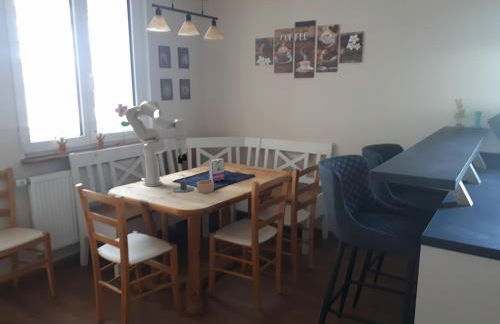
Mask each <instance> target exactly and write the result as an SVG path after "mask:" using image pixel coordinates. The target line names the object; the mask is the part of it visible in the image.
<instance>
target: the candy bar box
mask: <svg viewBox="0 0 500 324" xmlns="http://www.w3.org/2000/svg"><path fill="white" fill-rule="evenodd" d="M208 170H209V171H208V172H209V180H211V181H213V182H214V183H217V182H216V181H218V182H222V181H221V180H223V181H226V174H225V173H226V172H225V159H224V158H216V159H215V158H214V159H209V160H208Z"/></svg>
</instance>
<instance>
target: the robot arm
mask: <svg viewBox="0 0 500 324" xmlns="http://www.w3.org/2000/svg"><path fill="white" fill-rule="evenodd" d="M162 116H163V110H162V109H161V106H160V103H159V102H158V101H157V100H146V101H143V102H141V104H140V105H132V106H129V107H128V108H126V111H125V118H126V120H127V122H128V124H129V126H131V128H132V130H133V131H134V133H135V135H136V136H137V138H138V140H139V141H140V142H141V143H144V144H143V145H142V152H143V156H144V164H145V166H144V167H145V178H141V182H144V186H146V187H157V186H161V185H162V184H163V181H161V179H160V177H161V176H160V175H161V174H160V161H159V158H158V156H157V154H162V153H164V152H165V151H166V148H167V147H166V143H165V142H164V139H163V138H162V135H161V134H160V133H159V131H158V130H157V129H156V128H154V127H152V128H151V127H149V128H148V127H146V125H145V123H144V122H143V121H142V120H141V119H139V118H143V117H144V118H145V117H150V118H151V119H153V123H154V124H155V126H156V127H158V128H159V129H161V130H162V131H172V130H174V133H175V135H174V136H175V155H177V164H178V165H183V163H184V162H187V160H188V158H187V157H188V155H187V151H188V150H187V149H188V145H187V140H188V139H187V138H188V137H187V136H188V135H187V122H186V119H184V118H182V119H181V118H174V117H173V118H166V119H165V118H163V117H162Z"/></svg>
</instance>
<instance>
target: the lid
mask: <svg viewBox="0 0 500 324" xmlns="http://www.w3.org/2000/svg"><path fill="white" fill-rule="evenodd" d="M187 181H188V179H181V180H180V181H179V186H177V187H176V186H175V187H174V188H173V192H175V193H180V194H184V193H185V194H186V193H190V192H193V191H194V190H195V187H193V186H188V183H187Z"/></svg>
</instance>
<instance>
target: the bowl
mask: <svg viewBox="0 0 500 324" xmlns="http://www.w3.org/2000/svg"><path fill="white" fill-rule="evenodd" d="M196 188H197V192H198V193H200V194H208V193H212V192H214V190H215V182H213V181H210V179H209V180H207V179H206V180H205V179H204V180H200V181H197V182H196Z"/></svg>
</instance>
